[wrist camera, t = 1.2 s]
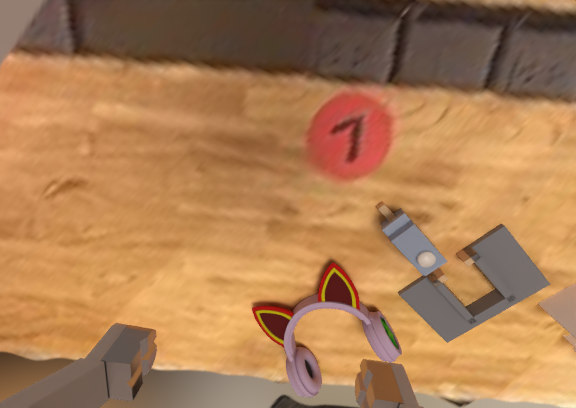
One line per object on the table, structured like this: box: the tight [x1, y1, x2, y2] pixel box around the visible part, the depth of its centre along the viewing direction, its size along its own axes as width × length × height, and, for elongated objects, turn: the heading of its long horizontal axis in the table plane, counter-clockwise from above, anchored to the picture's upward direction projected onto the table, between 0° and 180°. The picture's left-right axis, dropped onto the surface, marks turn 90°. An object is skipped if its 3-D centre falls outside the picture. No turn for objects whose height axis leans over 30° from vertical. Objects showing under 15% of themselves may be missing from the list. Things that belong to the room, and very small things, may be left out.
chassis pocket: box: [398, 224, 550, 343], centre depth 49 cm, size 20×15×2 cm
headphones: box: [252, 263, 402, 397], centre depth 51 cm, size 20×10×20 cm
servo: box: [376, 202, 448, 276], centre depth 44 cm, size 4×12×7 cm, turn 44°
